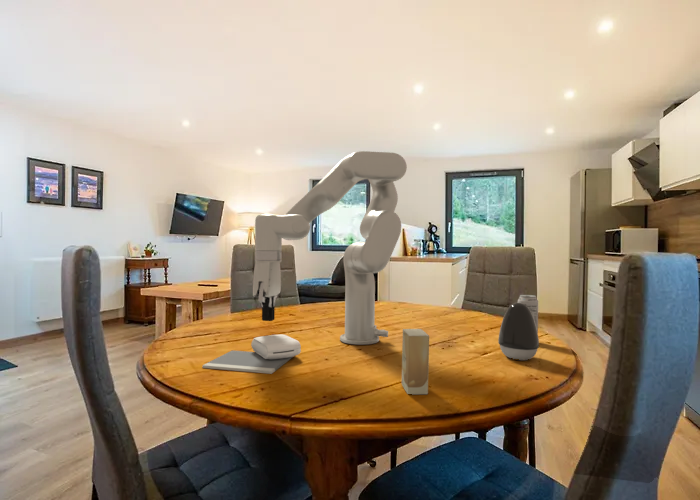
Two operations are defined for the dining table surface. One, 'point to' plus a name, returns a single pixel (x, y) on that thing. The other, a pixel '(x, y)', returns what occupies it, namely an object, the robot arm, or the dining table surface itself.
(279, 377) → the dining table surface
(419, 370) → the skincare box
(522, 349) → the grey egg shaped device
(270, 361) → the mat
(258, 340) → the photo printer
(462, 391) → the dining table surface
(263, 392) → the dining table surface
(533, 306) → the energy drink can
